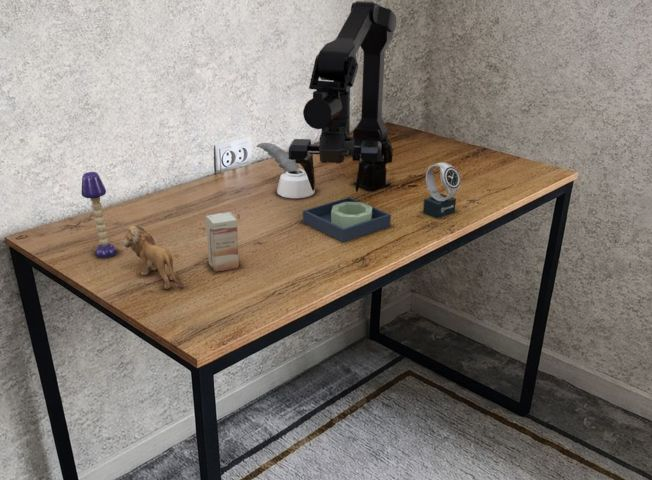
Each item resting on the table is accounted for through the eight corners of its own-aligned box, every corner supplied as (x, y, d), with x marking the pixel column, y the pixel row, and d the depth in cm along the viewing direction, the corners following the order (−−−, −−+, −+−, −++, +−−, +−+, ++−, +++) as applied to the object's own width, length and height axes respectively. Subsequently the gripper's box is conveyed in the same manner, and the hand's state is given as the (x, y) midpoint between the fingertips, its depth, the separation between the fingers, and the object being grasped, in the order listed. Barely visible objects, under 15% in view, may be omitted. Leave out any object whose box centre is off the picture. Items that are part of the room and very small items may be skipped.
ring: (323, 221, 166) (323, 208, 165) (354, 211, 171) (354, 199, 169) (349, 233, 161) (349, 220, 159) (379, 223, 165) (380, 210, 163)
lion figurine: (122, 271, 148) (115, 228, 143) (143, 262, 151) (138, 219, 147) (173, 293, 140) (168, 248, 135) (195, 283, 143) (190, 238, 139)
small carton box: (215, 272, 147) (211, 223, 142) (208, 263, 150) (204, 215, 145) (240, 267, 149) (237, 218, 143) (233, 259, 152) (230, 210, 147)
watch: (444, 220, 167) (448, 171, 161) (417, 210, 172) (420, 162, 166) (461, 214, 170) (466, 165, 164) (434, 204, 175) (438, 157, 169)
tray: (302, 222, 167) (302, 210, 166) (349, 208, 174) (349, 196, 173) (342, 242, 158) (343, 230, 157) (390, 226, 165) (391, 214, 163)
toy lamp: (104, 260, 152) (90, 179, 144) (87, 255, 155) (73, 175, 146) (121, 251, 156) (109, 171, 147) (104, 247, 158) (91, 168, 149)
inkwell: (297, 202, 178) (296, 159, 172) (242, 185, 188) (240, 144, 183) (323, 191, 184) (323, 149, 178) (268, 175, 194) (267, 135, 189)
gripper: (283, 125, 149) (285, 202, 157) (379, 128, 146) (377, 206, 154) (291, 110, 158) (293, 184, 166) (383, 112, 155) (380, 186, 164)
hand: (335, 190), depth 162 cm, fingers open, 9 cm apart
